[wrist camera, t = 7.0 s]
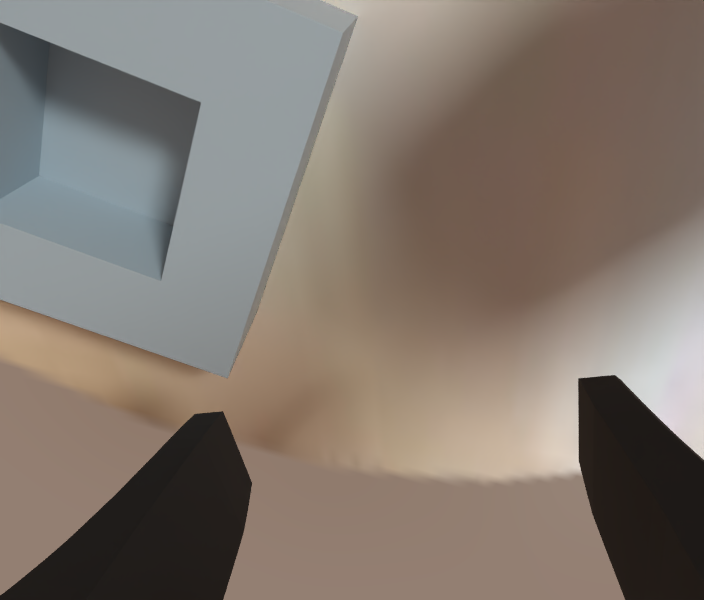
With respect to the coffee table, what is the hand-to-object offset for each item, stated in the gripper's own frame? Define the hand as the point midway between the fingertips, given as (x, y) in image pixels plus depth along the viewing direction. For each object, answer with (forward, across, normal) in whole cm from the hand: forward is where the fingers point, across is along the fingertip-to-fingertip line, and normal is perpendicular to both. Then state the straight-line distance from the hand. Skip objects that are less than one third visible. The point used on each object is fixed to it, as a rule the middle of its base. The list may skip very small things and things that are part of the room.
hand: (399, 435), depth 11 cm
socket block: (+9, +7, -5) cm, 12 cm away
